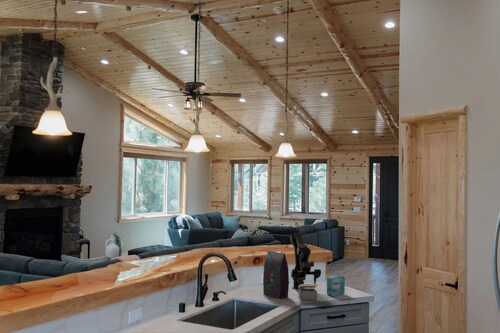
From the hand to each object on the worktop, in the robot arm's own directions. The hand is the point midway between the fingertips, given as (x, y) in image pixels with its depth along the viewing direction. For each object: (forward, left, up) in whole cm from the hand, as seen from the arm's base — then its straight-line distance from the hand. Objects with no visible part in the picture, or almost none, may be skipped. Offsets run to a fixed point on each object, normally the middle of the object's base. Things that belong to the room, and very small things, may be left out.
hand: (307, 284), depth 280 cm
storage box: (0, 0, -9) cm, 9 cm away
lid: (0, 0, -1) cm, 1 cm away
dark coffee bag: (-21, -4, -9) cm, 23 cm away
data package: (+8, +24, -9) cm, 27 cm away
